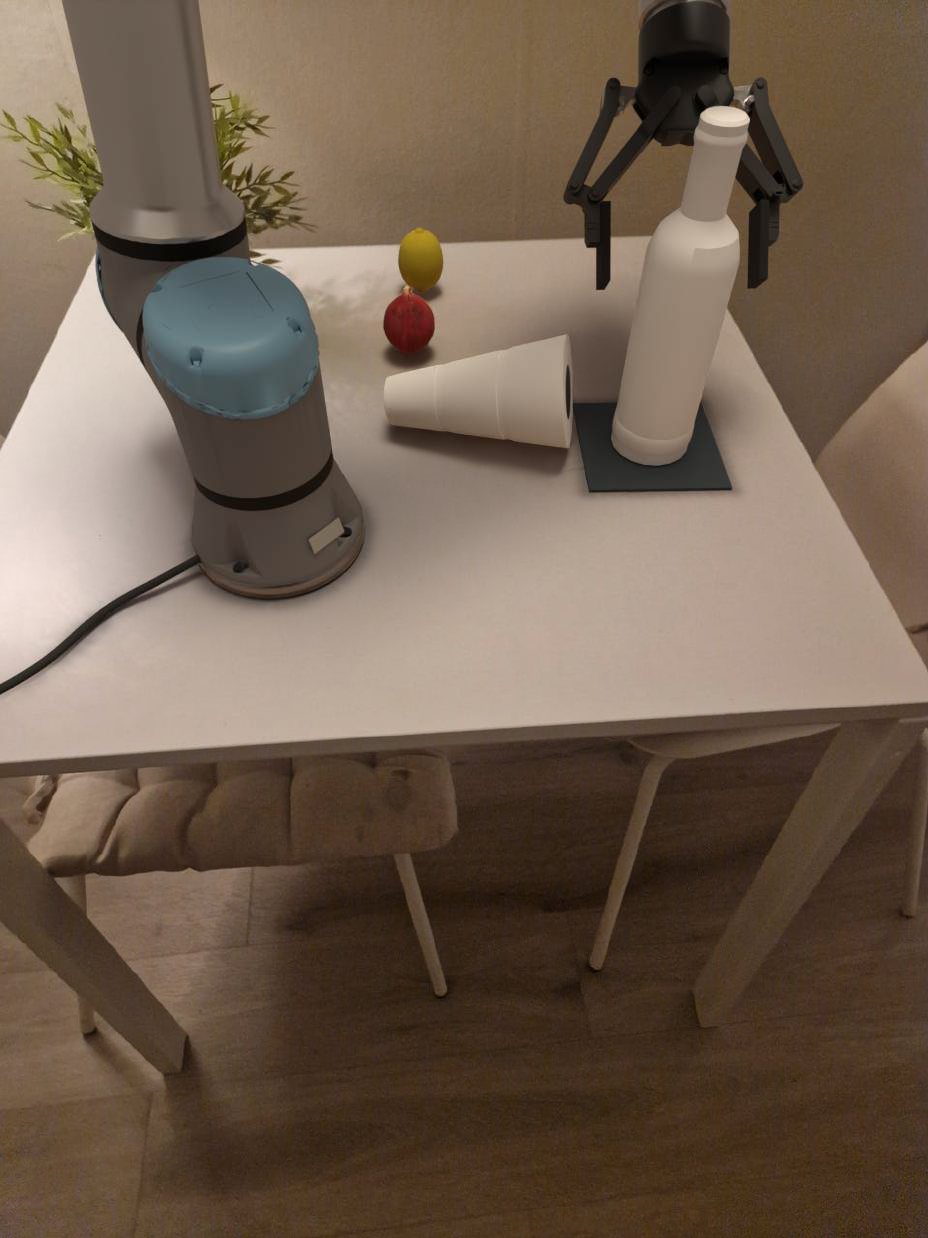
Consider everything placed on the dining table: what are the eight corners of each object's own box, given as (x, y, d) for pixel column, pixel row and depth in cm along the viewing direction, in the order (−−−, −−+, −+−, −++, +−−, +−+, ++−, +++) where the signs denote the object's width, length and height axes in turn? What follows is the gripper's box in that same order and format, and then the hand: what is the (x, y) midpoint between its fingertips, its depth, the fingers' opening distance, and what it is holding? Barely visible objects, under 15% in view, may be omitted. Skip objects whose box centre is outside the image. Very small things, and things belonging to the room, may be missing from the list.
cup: (388, 323, 80) (568, 311, 76) (411, 408, 88) (574, 401, 84) (366, 390, 74) (560, 380, 70) (393, 475, 82) (568, 471, 78)
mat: (589, 492, 77) (589, 489, 77) (572, 404, 86) (572, 402, 86) (731, 489, 77) (732, 487, 77) (700, 403, 86) (701, 400, 86)
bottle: (685, 421, 84) (773, 96, 60) (691, 470, 79) (789, 137, 55) (608, 416, 84) (667, 92, 61) (610, 464, 79) (674, 131, 56)
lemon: (395, 284, 102) (391, 220, 96) (436, 278, 103) (435, 214, 97) (406, 306, 98) (402, 241, 92) (449, 299, 100) (448, 235, 93)
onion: (442, 361, 91) (441, 295, 85) (395, 372, 90) (390, 305, 83) (425, 335, 94) (423, 270, 88) (379, 345, 93) (373, 279, 87)
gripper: (542, -5, 63) (543, 271, 66) (851, -6, 64) (842, 268, 66) (532, 52, 71) (533, 298, 73) (809, 51, 71) (802, 295, 74)
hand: (680, 285), depth 70 cm, fingers open, 13 cm apart
